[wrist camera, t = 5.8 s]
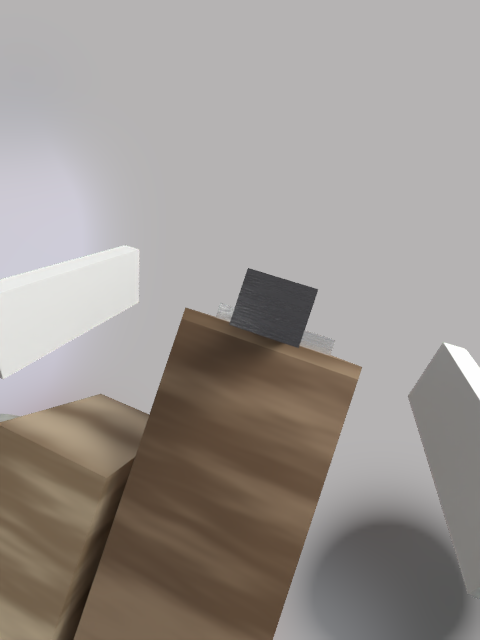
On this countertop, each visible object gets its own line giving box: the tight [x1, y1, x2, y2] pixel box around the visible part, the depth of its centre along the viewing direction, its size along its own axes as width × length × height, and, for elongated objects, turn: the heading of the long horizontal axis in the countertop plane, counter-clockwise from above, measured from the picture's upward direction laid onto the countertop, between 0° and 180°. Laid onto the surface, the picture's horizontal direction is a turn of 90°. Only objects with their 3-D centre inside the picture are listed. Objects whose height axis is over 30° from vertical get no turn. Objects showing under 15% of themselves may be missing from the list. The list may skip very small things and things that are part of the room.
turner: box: [216, 268, 335, 356], centre depth 20 cm, size 21×9×2 cm, turn 172°
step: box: [0, 394, 149, 640], centre depth 26 cm, size 12×10×22 cm
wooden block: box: [74, 308, 362, 640], centre depth 24 cm, size 12×12×35 cm
